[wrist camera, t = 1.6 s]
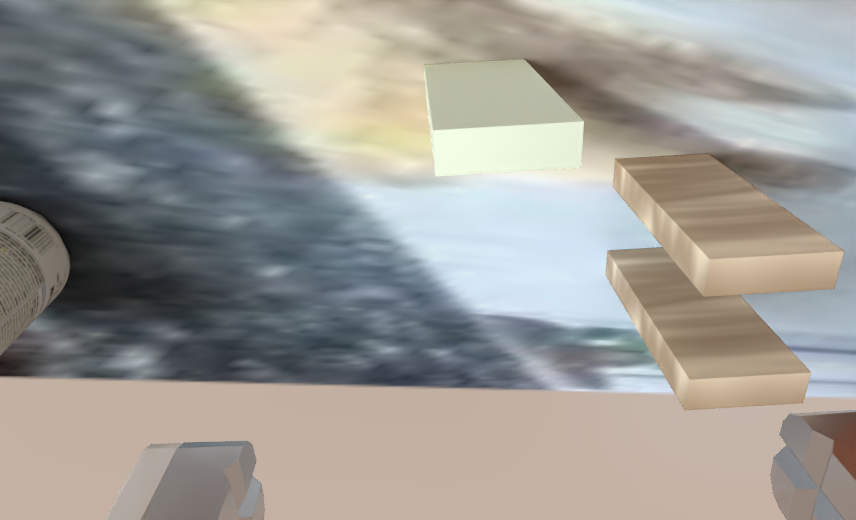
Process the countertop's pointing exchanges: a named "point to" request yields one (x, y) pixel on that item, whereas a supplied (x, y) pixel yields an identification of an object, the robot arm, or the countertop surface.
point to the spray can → (27, 269)
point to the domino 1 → (498, 119)
